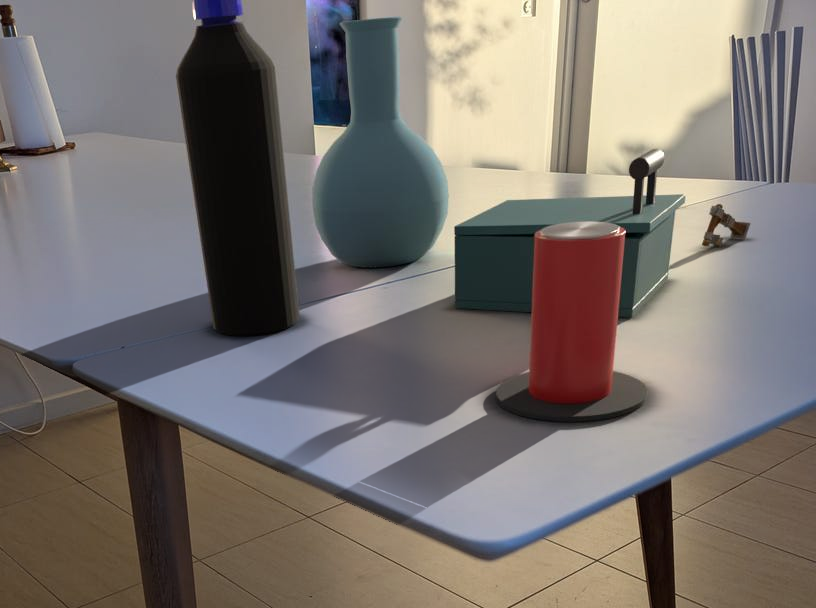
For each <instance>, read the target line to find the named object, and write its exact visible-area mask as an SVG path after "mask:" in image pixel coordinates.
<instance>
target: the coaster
mask: <svg viewBox="0 0 816 608" xmlns="http://www.w3.org/2000/svg"><path fill="white" fill-rule="evenodd" d="M648 395H649V390H648V387H647V386H646V385H645V383H644V382H642V381H641V380H639V379H638V378H636V377H634V376H631V375H629V374H626V373H623V372H619V371H614V370H613V376H612V387H611V392H610V394H609V395H608V396H606V397H604V398H602V399H599V400H596V401H592V402H587V403H578V404H560V403H551V402H546V401H542V400H539V399H537V398H535V397H533V396H532V395H531V394H530V393H529V371H528V372H524V373H520V374H518V375H515V376H512V377H510V378H507V379H505V380H504V381H503V382H501V383H500V384H499V385H498V386H497V388H496V391H495V400H496V403H497V404H498V405H499V406H500V407H501V408H502V409H504V410H505V411H508V412H510V413H512V414H515V415H518V416H521V417H524V418H528V419H534V420H540V421H548V422H558V423H559V422H560V423H563V422H566V423H575V422H576V423H577V422H578V423H580V422H594V421H601V420H606V419H607V420H608V419H612V418H616V417H620V416H623V415H626V414H629V413H632V412H634V411H636V410H638V409H639V408H641V407H642V406H643V405H644V404H645V403H646V402H647V399H648Z"/></svg>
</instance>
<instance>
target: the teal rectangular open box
mask: <svg viewBox="0 0 816 608" xmlns="http://www.w3.org/2000/svg"><path fill="white" fill-rule="evenodd" d="M675 217H676V211H674V212H673V213H672V214H671V215H670V216H668V217H667V218H666V219H665V220H664V221H662V222H661V223H660V224H659V225H658V226H656V227H655V228H654V229H653V230H652V231H650V232H635V233H625V242H624V253H623V264H622V275H621V287H620V298H619V309H618V318H628V319H629V318H633V317H634V316H635V315H636V314H637V313H638V312H639V311H640V310H641V309H642V308H643V307H644V305H646V303H647V302H648V301H649V300H650V299H651V298H652V297H653V296H654V295H655V294H656V293H657V292H658V291H659V290H660V289H661V288H662V287H663V286H664V284H666V283H667V282H668V279H669V270H670V261H671V254H672V253H671V252H672V244H673V235H674V227H675V220H676V219H675ZM534 237H535V234H504V235H454V308H455V309H463V310H479V311H480V310H483V311H484V310H485V311H503V312H517V313H518V312H520V313H532V289H533V263H534Z"/></svg>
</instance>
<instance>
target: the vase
mask: <svg viewBox="0 0 816 608" xmlns="http://www.w3.org/2000/svg"><path fill="white" fill-rule="evenodd" d="M403 18H404V17H403V16H400V15H399V16H388V17H387V16H386V17H378V18H377V17H376V18H366V19H365V18H364V19H355V20H347V21H341V22H339V26H340V27H341V29H342V30H343V31H344V32H345V52H346V53H345V57H346V69H347V82H348V94H349V95H348V96H349V103H350V121H349V123H348V125H347V126H346V128H345V130H344V131H343V132H342V133H341V134H340V135H339V137H337V138H336V139H335V140H334V141H333V142H332V144H331V145H330V146H329V148H328V149H327V150H326V152H325V153H324V154H323V156H322V158H321V159H320V162H319V164H318V166H317V169H316V171H315V176H314V178H313V179H314V180H313V183H312V184H313V185H312V187H311V206H312V212H313V219H314V225H315V227H316V230H317V232H318V234H319V236H320V238H321V240H322V242H323V244H324V245H325V247H326V248H327V250H328V251H329V253H330V254H331V256H333V257H334V258H335V259H337V260H338V261H339V262H341V264H344V265H347V266H350V267H354V268H355V267H357V268H385V267H386V268H387V267H388V268H389V267H394V266H401V265H405V264H409V263H412V262H415V261H417V260H419V259H421V258H422V257H424V256H425V255H426V254H427V253H428V252H429V251H430V250H431V249H432V248H434V246H435V245H436V242H437V240H438V239H439V237H440V235H441V233H442V231H443V229H444V227H445V226H444V225H445V224H446V220H447V218H448V213H449V201H450V200H449V199H450V194H449V183H448V178H447V175H446V173H445V170H444V167H443V163H442V162H441V160H440V159H439V157H438V156H437V153H436V152H435V151H434V149H433V148H432V147H431V145H429V144H428V142H426V140H425V139H424V138H423V137H422V136H421V135H420V134H418V133H417V132H415V131H414V130H412V129H411V128H410V127H409V126H408V125H407V123H405V121H404V120H403V118H402V115H401V111H400V47H399V46H400V45H399V32H398V28H399V25H400V24H401V22H402V20H403Z"/></svg>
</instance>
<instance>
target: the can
mask: <svg viewBox="0 0 816 608" xmlns="http://www.w3.org/2000/svg"><path fill="white" fill-rule="evenodd" d="M624 242H625V229H624V228H622V227H619V226H618V225H616V224H612V223H606V222H570V223H561V224H556V225H551V226H548V227H545V228H543V229H542V230H539V231H537V232H536V233H535V237H534V263H533V289H532V312H531V317H530V318H531V319H530V321H531V322H530V340H529V341H530V342H529V343H530V344H529V368H528V369H529V370H528V372H529V393H530V394H531V395H532V396H533V397H535V398H537V399H539V400H542V401H546V402H551V403H560V404H578V403H587V402H592V401H596V400H599V399H602V398H604V397H606V396H608V395H609V394H610V392H611V387H612V376H613V371H614V364H615V354H616V353H615V352H616V342H617V331H618V320H619V317H618V309H619V298H620V287H621V275H622V264H623V253H624Z"/></svg>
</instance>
